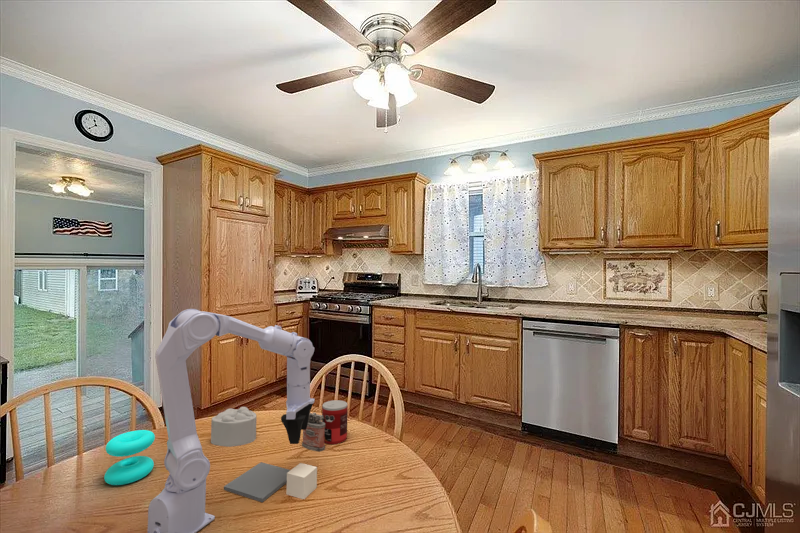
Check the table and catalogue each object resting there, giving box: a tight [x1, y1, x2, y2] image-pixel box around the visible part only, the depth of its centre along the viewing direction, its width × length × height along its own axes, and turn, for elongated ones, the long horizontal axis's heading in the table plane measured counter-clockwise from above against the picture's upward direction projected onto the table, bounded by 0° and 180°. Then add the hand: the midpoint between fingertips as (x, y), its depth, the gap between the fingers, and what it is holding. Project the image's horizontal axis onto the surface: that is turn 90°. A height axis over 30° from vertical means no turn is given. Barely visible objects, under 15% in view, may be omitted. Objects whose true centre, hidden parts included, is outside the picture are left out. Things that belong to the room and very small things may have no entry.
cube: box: [285, 462, 318, 500], centre depth 82 cm, size 5×5×5 cm
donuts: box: [103, 429, 156, 486], centre depth 88 cm, size 10×10×10 cm
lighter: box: [301, 412, 326, 452], centre depth 104 cm, size 8×3×10 cm, turn 62°
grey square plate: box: [223, 461, 291, 503], centre depth 86 cm, size 12×12×1 cm
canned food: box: [321, 399, 349, 445], centre depth 109 cm, size 8×8×11 cm
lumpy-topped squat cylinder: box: [210, 406, 257, 448], centre depth 109 cm, size 10×13×9 cm
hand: (298, 435), depth 88 cm, fingers open, 7 cm apart
